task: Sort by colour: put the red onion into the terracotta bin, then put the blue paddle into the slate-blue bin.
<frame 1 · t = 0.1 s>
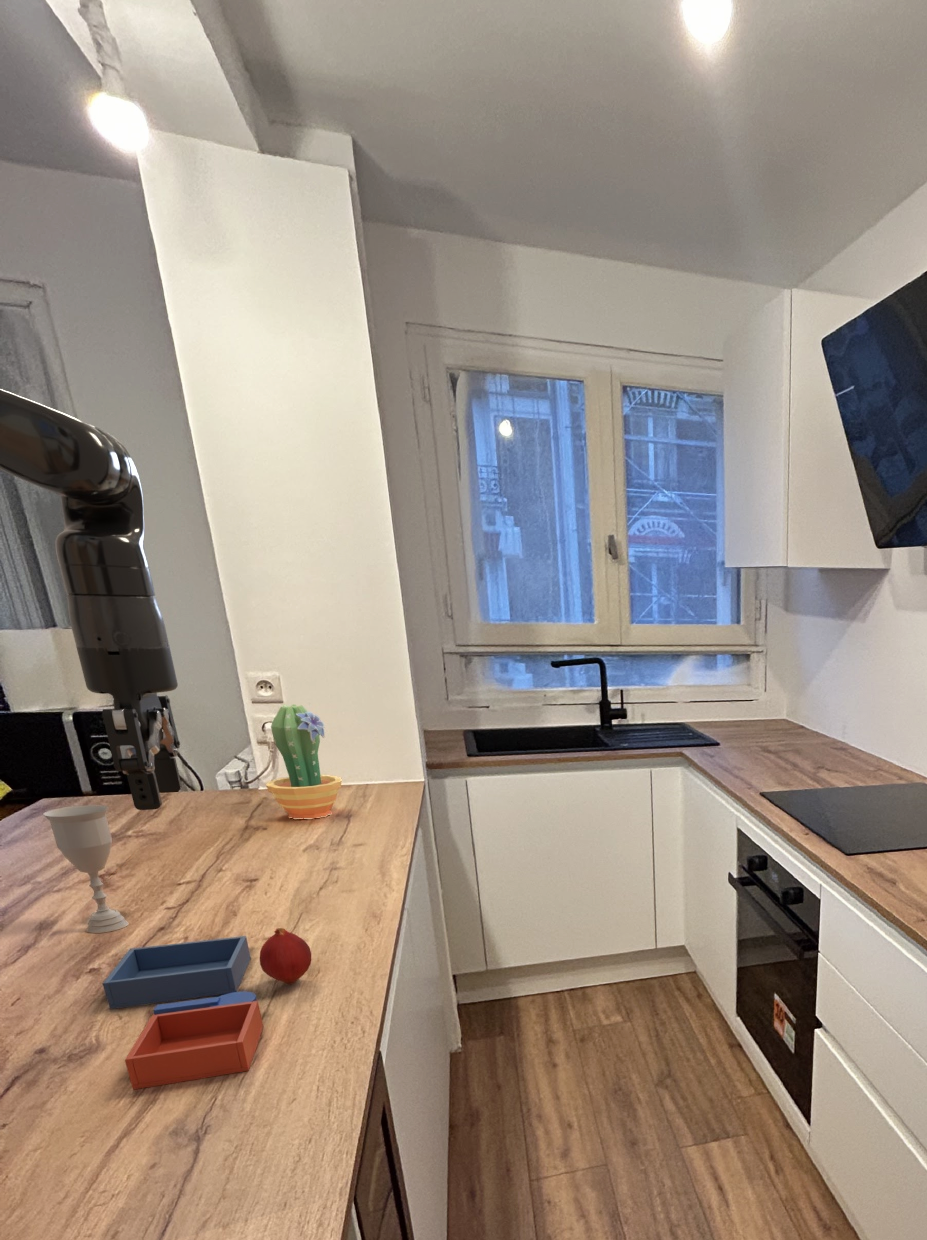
hand: (160, 799, 88), 27 cm above the table, tool pointing down, fingers open, 8 cm apart
blue bin: (185, 982, 106), on the table
potted cactus: (310, 816, 188), on the table
terracotta bin: (202, 1056, 89), on the table
blue paddle: (203, 1014, 98), on the table
onion: (291, 984, 106), on the table
chalice: (108, 927, 123), on the table
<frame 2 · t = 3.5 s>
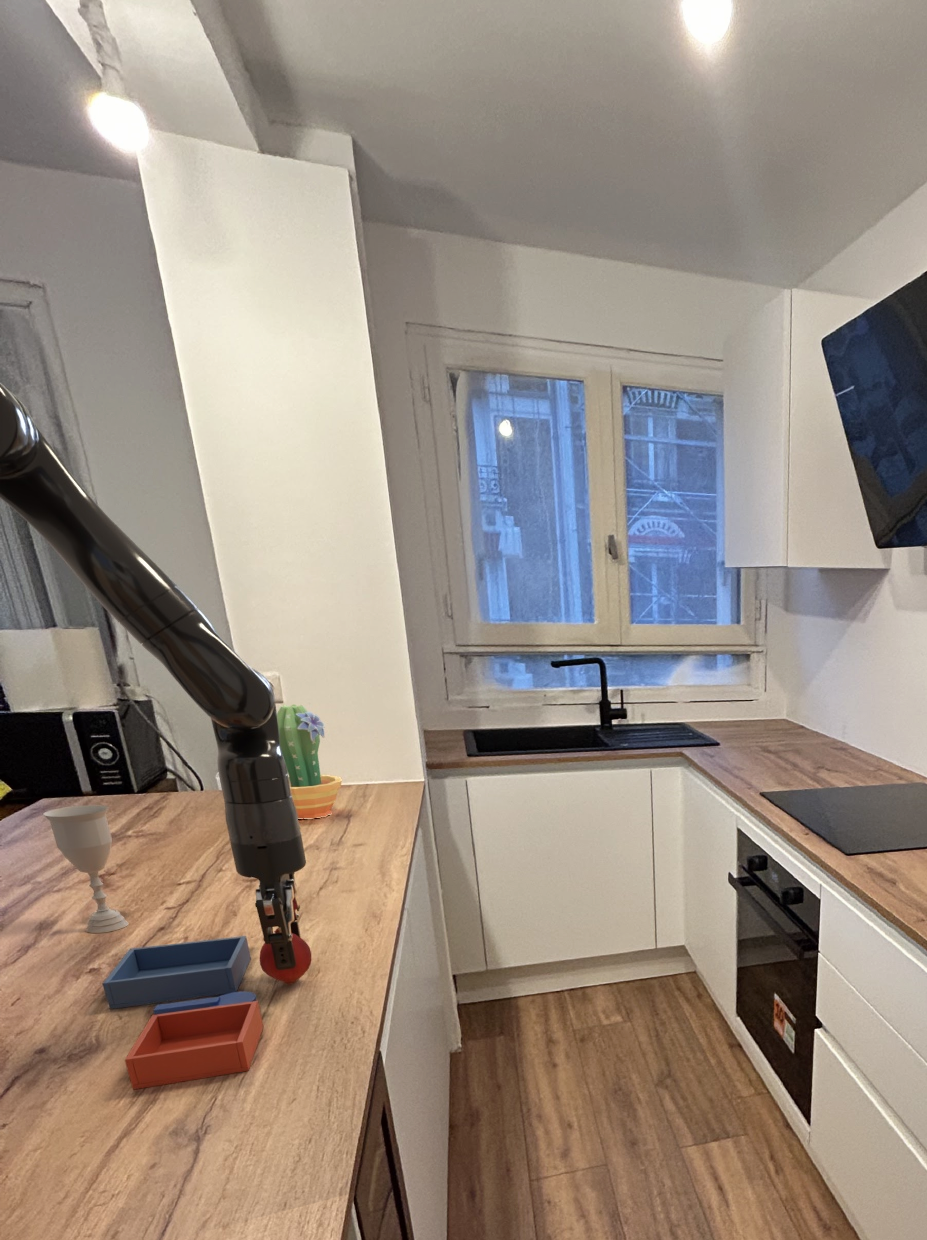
hand: (289, 957, 105), 4 cm above the table, tool pointing down, fingers closed on onion, 6 cm apart
onion: (291, 984, 106), on the table, touching gripper
everything else where it was.
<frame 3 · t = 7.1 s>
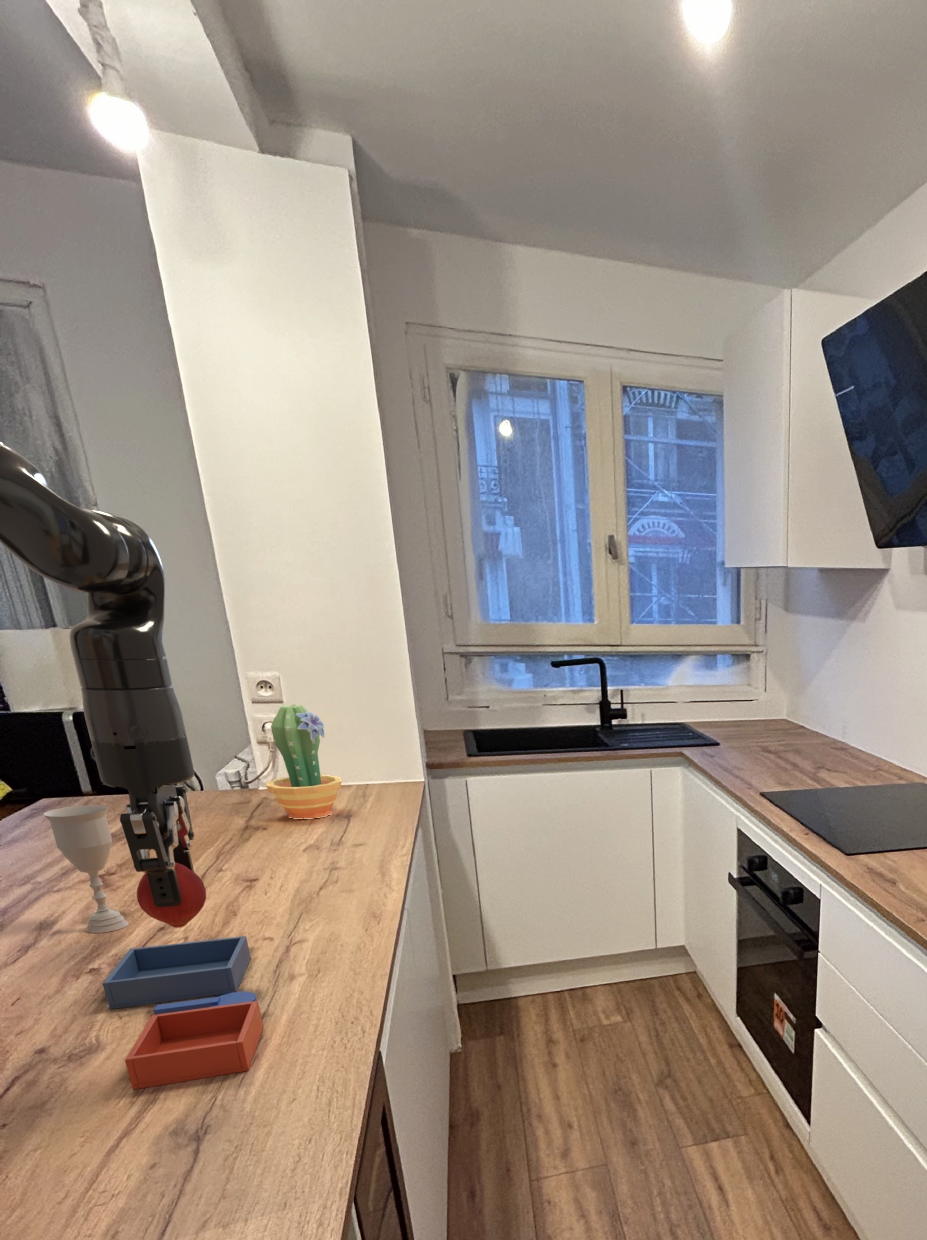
hand: (176, 894, 85), 18 cm above the table, tool pointing down, fingers closed on onion, 6 cm apart
onion: (180, 928, 86), point 14 cm above the table, touching gripper
everything else where it was.
when the fingers open (4 cm above the table, at t = 10.9 s): onion stays where it is, resting on terracotta bin.
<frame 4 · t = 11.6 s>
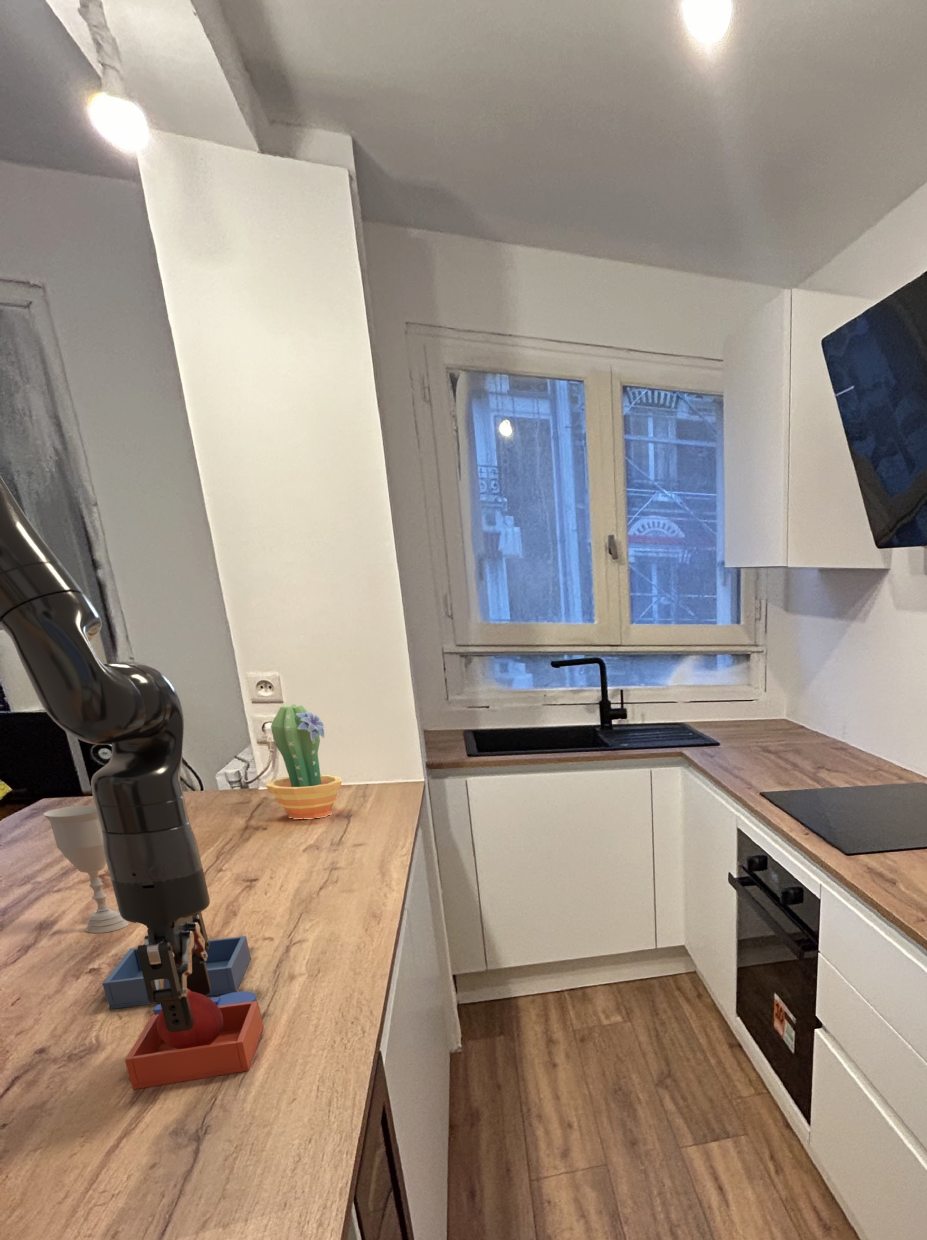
hand: (191, 1011, 87), 6 cm above the table, tool pointing down, fingers open, 8 cm apart
onion: (198, 1054, 89), resting on terracotta bin
everything else where it was.
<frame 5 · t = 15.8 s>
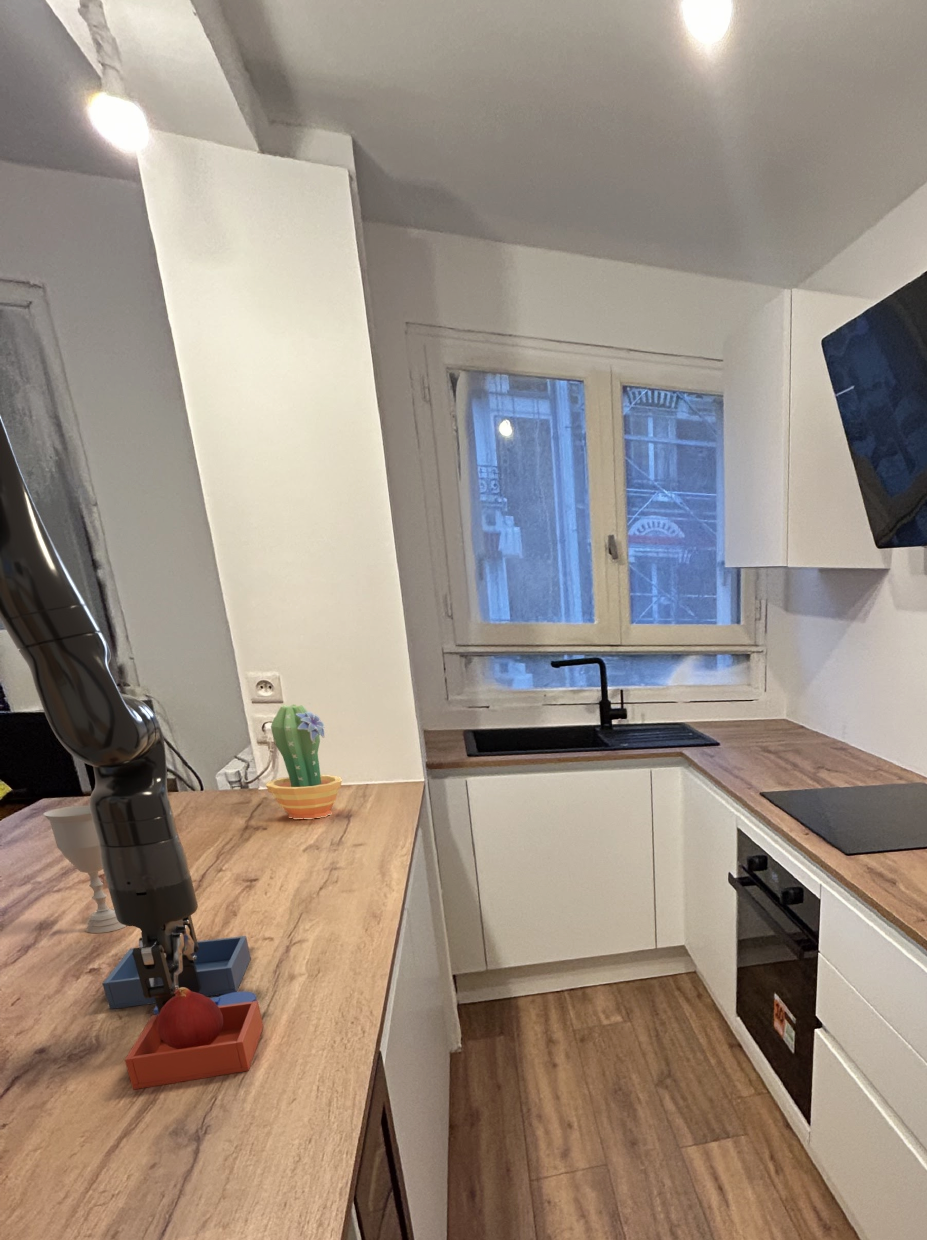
hand: (182, 1007, 97), 1 cm above the table, tool pointing down, fingers open, 7 cm apart
nothing on the table moved.
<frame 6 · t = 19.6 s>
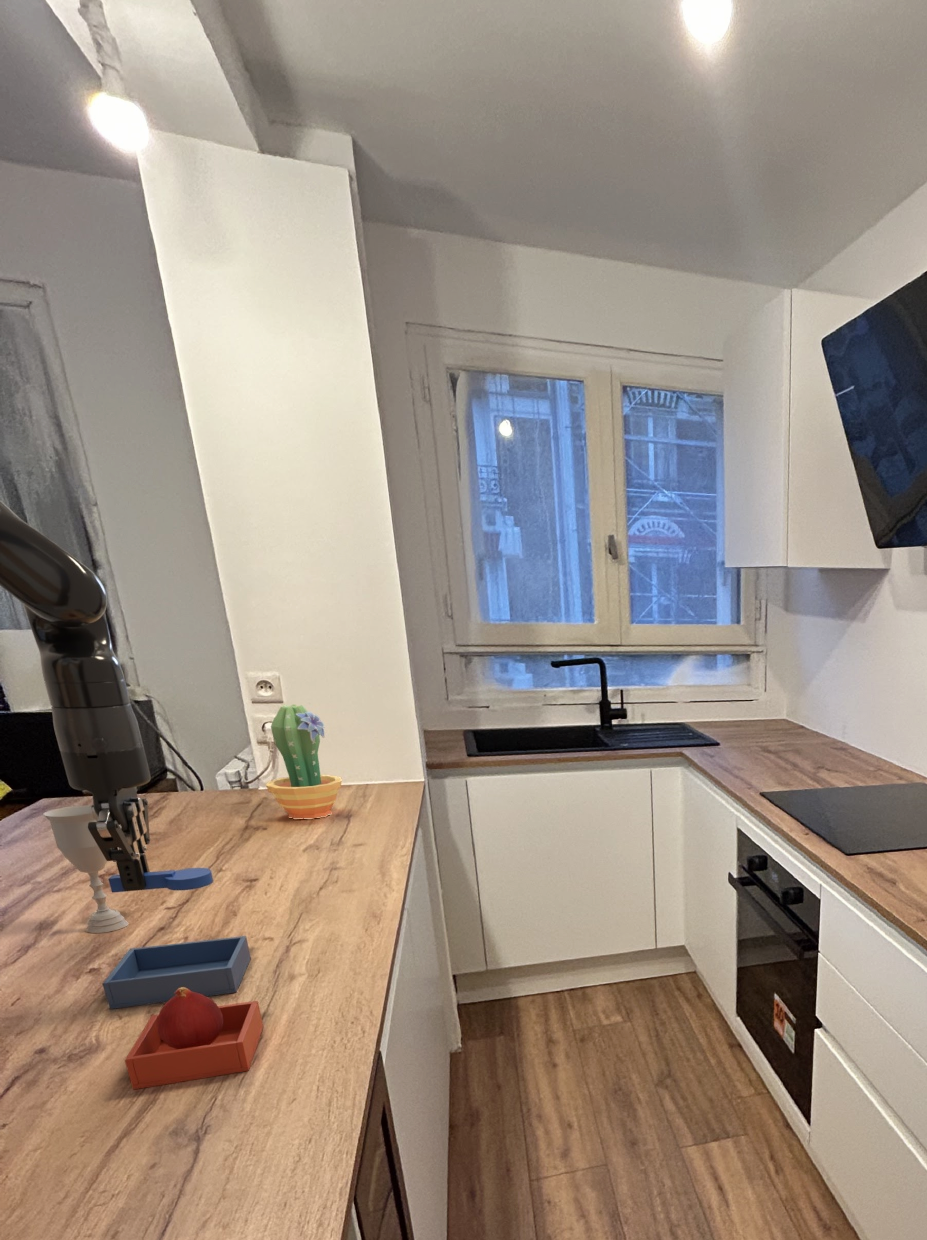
hand: (138, 886, 99), 14 cm above the table, tool pointing down, fingers closed on blue paddle, 1 cm apart
blue paddle: (158, 887, 100), point 14 cm above the table, touching gripper
everything else where it was.
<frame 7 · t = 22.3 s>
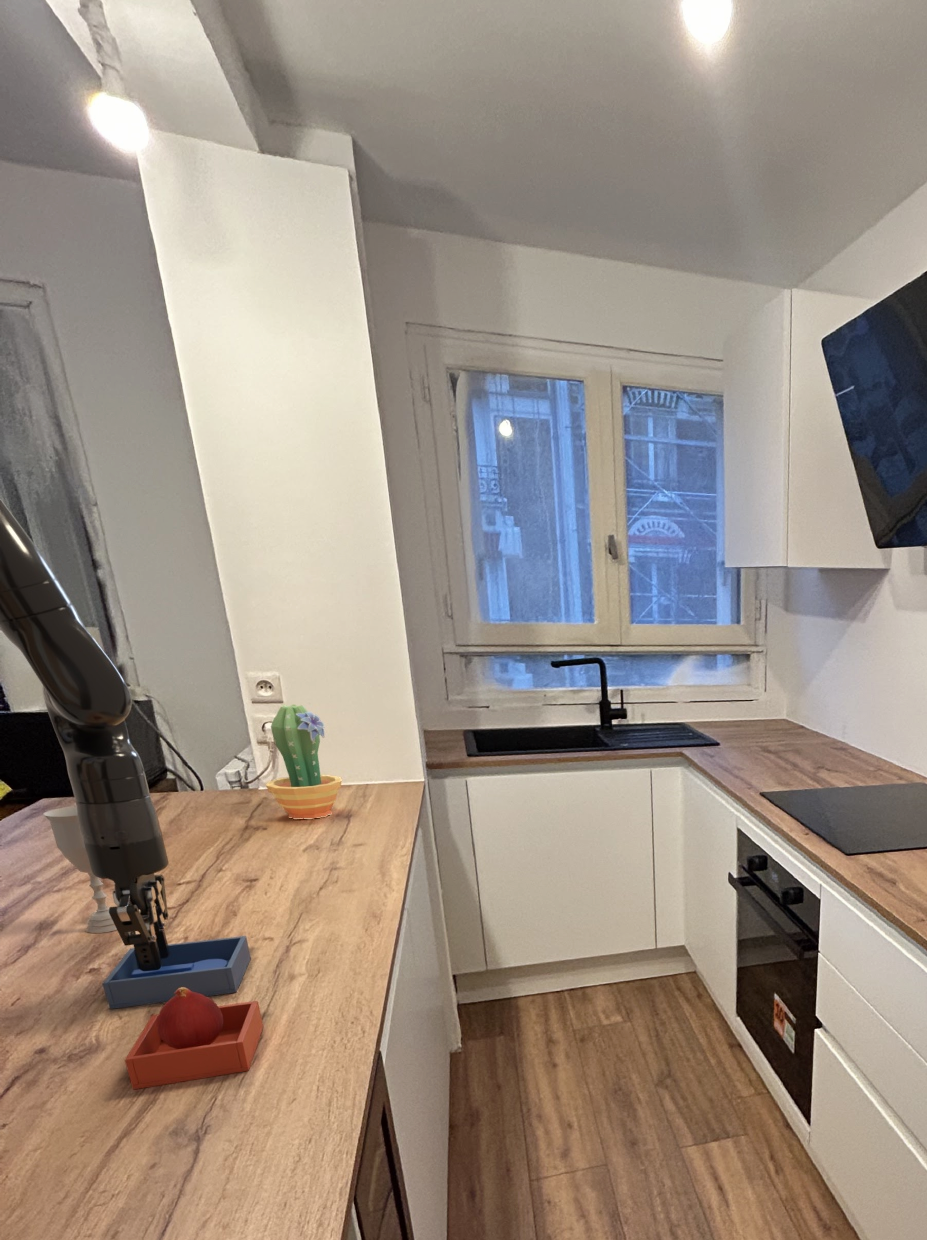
hand: (155, 963, 104), 3 cm above the table, tool pointing down, fingers open, 3 cm apart
blue paddle: (177, 979, 105), point 1 cm above the table, touching blue bin
everything else where it was.
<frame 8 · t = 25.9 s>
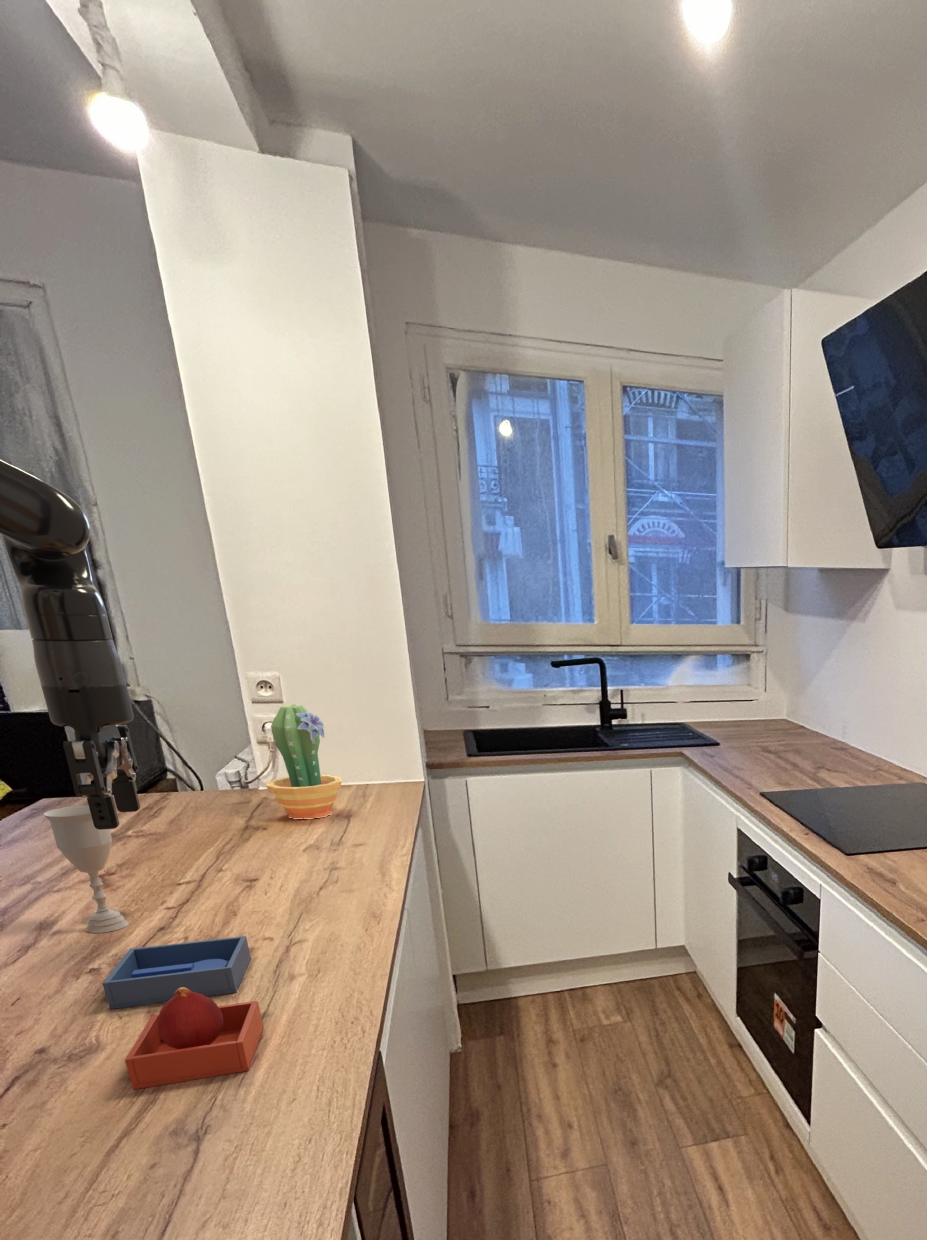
hand: (119, 819, 97), 22 cm above the table, tool pointing down, fingers open, 8 cm apart
nothing on the table moved.
at the end: onion inside the target area in the terracotta bin (0.4 cm from its centre), point 0.3 cm above the terracotta bin's base; blue paddle inside the target area in the blue bin (0.7 cm from its centre), point 0.5 cm above the blue bin's base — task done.
